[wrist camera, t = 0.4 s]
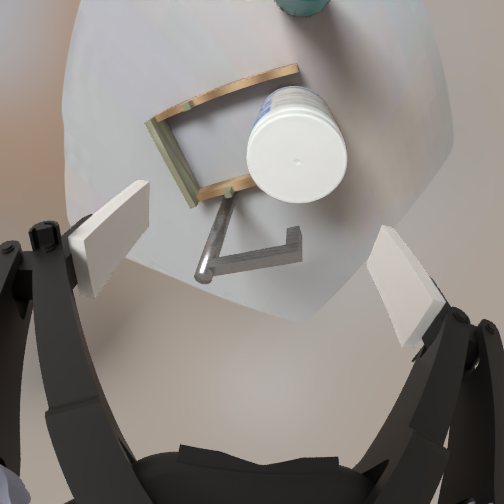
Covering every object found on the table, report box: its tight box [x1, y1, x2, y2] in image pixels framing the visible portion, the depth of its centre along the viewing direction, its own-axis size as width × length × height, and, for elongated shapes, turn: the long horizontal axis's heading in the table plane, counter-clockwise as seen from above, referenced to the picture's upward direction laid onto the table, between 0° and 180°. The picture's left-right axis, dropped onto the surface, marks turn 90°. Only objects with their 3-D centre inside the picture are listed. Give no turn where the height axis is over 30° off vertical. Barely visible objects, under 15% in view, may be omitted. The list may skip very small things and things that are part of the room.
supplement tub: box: [247, 86, 347, 203], centre depth 29 cm, size 10×10×15 cm
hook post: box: [194, 191, 302, 284], centre depth 36 cm, size 12×2×18 cm, turn 110°
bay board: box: [145, 64, 299, 208], centre depth 36 cm, size 21×15×4 cm
